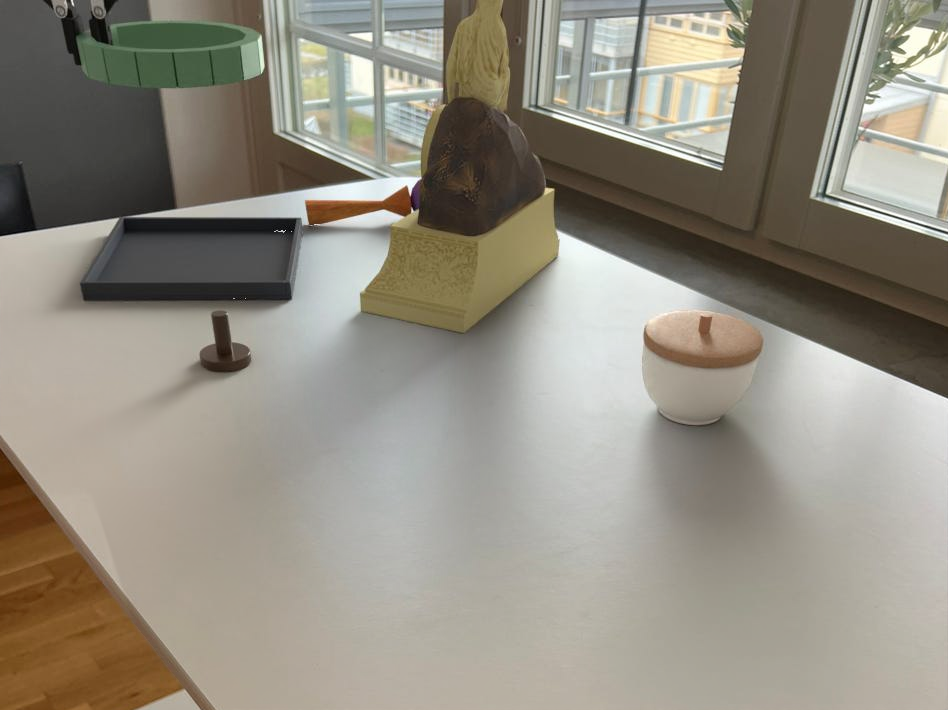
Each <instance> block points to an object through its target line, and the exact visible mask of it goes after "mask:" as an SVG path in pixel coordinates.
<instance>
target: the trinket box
mask: <svg viewBox="0 0 948 710" xmlns="http://www.w3.org/2000/svg"><path fill="white" fill-rule="evenodd" d="M642 336H643V337H642V338H643V345H642V352H641V373H642V382H643V385H644V388H645V390H646V393H647V395H648V397H649V398H650V400H651V401H652V402H653V404H654V405H655V406H656V407H657V411H658V412H659V414H660V415H661V416H663V417H664V418H665V419H667V420H669V421H672V422H674V423H678V424H682V425H688V426H706V425H710V424H713V423H715V422H717V421H719V420H720V419H721V418H722V417H723V416H724V415H726V414H727V413H729V412H730V411H731V410H733V409H734V408H735V407H736V406H737V405H738V404H739V403H740V402H741V401H742V400H743V398H744V397H745V395H746V393H747V392H748V390H749V388H750V385H751V384H752V381H753V379H754V376H755V373H756V370H757V365H758V363H759V362H758V361H759V357H760V355H761V353H762V350H763V345H764V338H763V335H762V334H761V332H760V331H759V330H758V329H757V328H756V327H755V326H754V325H752V324H750V323H749V322H747V321H745V320H742V319H741V318H738V317H735V316H731V315H728V314H725V313H720V312H714V311H707V310H689V309H688V310H687V309H686V310H673V311H669V312H663V313H661V314H658V315H655V316H654V317H652V318H650V319H649V320H648V321H647V323H646V324H645V325H644V328H643V333H642Z"/></svg>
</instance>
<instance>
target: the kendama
mask: <svg viewBox="0 0 948 710" xmlns="http://www.w3.org/2000/svg"><path fill="white" fill-rule="evenodd" d="M421 179H422V178H420V179H418V180H417V181H416V182H415V184H414V185H413V187H412V188H411V192H410V191H409V187H408V184H406V185H405V186H403V187H401V188H400V189H398V190H397V191H396V192H394V193H392V194H391V195H389V196H388V197H386V198H384V199H383V200H353V199H351V200H350V199H349V200H348V199H347V200H345V199H343V200H337V199H332V200H331V199H329V200H328V199H305V200H304V204H305V211H306V218H307V222H308V223H309V224H308V223H307V224H308V226H309V225H314V224H320V225H324V224H328V223H332V222H337V221H340V220H345V219H349V218H352V217H358V216H362V215H366V214H370V213H375V212H378V211H379V212H380V211H387V212H388V213H391V214H392V213H393V214H395V215H398V216H401V217H402V218H404V217H406V216H407V215H409V214H411V213H412V212H414V211H416V210H418V209H419V199H418V184H419V183H420V181H421Z"/></svg>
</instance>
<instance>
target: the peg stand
mask: <svg viewBox="0 0 948 710" xmlns="http://www.w3.org/2000/svg"><path fill="white" fill-rule="evenodd" d="M210 317H211V324H212V330H213V336H214V343H211V344H208V345H207V346H204V347H203V348H201V350H200V351H199V361H200V365H201V366H202V367H203V368H204V369H206V370H209V371H211V372H218V373H228V372H235V371H239V370H242V369H244V368H246V367H248V366H249V365H250V364H251V362H252V354H251V349H250V348H249V347H248V346H247V345H245V344H243V343H240V342H234V341H232V335H231V334H232V333H231V328H230V327H231V326H230V321H229V313H228V311H225V310H223V309H222V310H221V309H217V310H213V311H212V312H211V313H210Z"/></svg>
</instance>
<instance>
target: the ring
mask: <svg viewBox="0 0 948 710" xmlns="http://www.w3.org/2000/svg"><path fill="white" fill-rule="evenodd" d="M110 28H111V33H112V38H113V44H114V46H112V45H108V44H104V43H100V42H97V41H96V40H95V39H94V38H93V37H92V36H91V31H90V28H88V29H86V30H84V31H83V32H82V33H81V34H79V35H78V36H76V40H77V45H78V50H79V55H80V60H81V64H82V65H81V69H82V72H83V73H84V74H85V76H86V77H87V78H88V79H91V80H94V81H98V82H101V83H104V84H107V85H113V86H121V87H129V88H138V89H140V88H142V89H177V88H178V89H190V88H192V89H193V88H204V87H205V88H207V87H213V86H215V87H218V86H223V85H229V84H235V83H241V82H245V81H247V80H250V79H253V78H255V77H258V76H261V75H262V74H263V72H264V70H265V68H266V66H265V57H264V47H263V37H262V34H261V33H260V32H258V31H257V30H255V29H253V28H251V27H248V26H247V27H246V26H242V25H237V24H233V23H228V22H227V23H226V22H216V21H204V20H176V19H175V20H167V19H166V20H145V21H144V20H143V21H131V22H120V23H112V24H110Z"/></svg>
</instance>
